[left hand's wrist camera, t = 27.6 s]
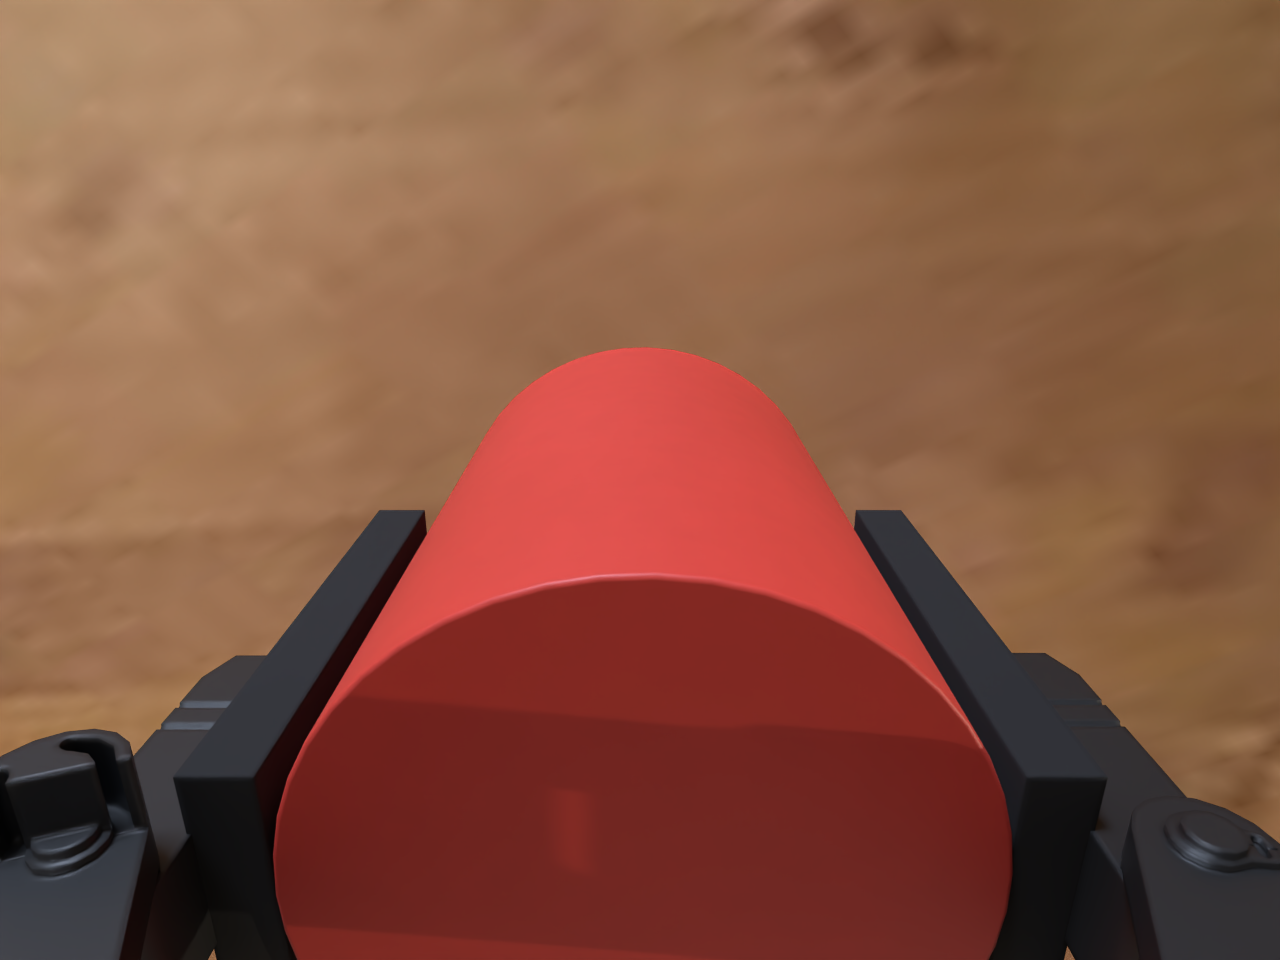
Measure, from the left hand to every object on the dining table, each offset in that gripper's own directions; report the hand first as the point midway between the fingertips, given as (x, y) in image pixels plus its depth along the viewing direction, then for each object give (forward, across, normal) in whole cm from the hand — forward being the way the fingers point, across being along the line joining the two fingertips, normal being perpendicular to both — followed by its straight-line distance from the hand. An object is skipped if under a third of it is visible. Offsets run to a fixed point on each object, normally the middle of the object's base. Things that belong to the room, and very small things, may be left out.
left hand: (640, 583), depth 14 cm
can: (+3, 0, 0) cm, 3 cm away
